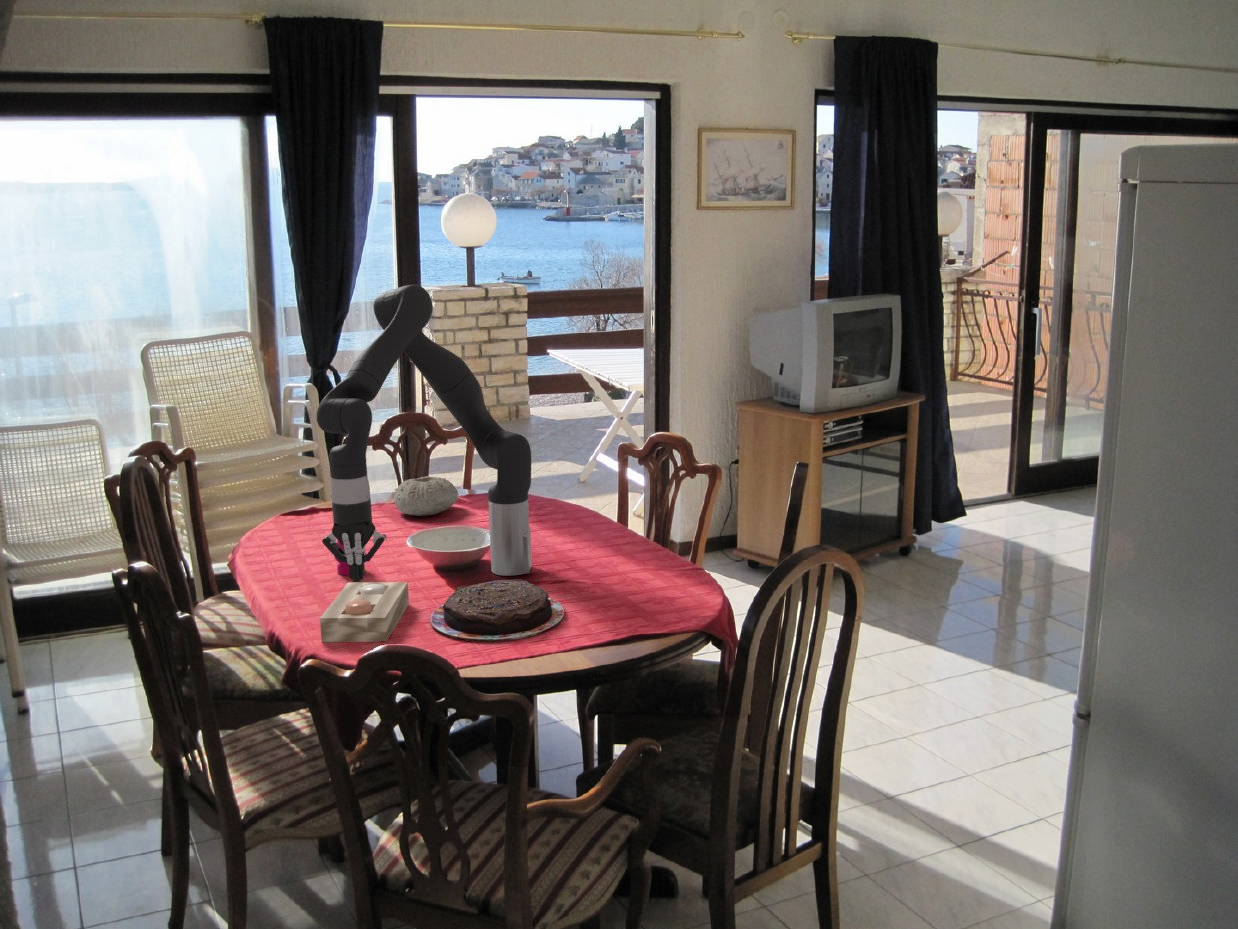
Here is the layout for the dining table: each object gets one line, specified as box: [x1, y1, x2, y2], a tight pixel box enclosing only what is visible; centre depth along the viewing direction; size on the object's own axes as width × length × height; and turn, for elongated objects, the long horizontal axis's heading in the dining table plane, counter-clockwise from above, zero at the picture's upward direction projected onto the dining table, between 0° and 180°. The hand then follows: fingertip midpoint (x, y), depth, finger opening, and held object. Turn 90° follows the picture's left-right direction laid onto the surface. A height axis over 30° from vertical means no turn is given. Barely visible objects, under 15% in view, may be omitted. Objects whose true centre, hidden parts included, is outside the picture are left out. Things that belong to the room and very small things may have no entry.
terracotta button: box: [346, 600, 371, 614], centre depth 237 cm, size 5×5×3 cm
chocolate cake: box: [429, 578, 565, 644], centre depth 244 cm, size 28×28×7 cm
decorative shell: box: [393, 475, 459, 517], centre depth 327 cm, size 18×18×10 cm
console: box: [319, 581, 410, 643], centre depth 243 cm, size 13×22×5 cm, turn 178°
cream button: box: [360, 584, 385, 594], centre depth 248 cm, size 5×5×3 cm
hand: (357, 581), depth 235 cm, fingers closed
